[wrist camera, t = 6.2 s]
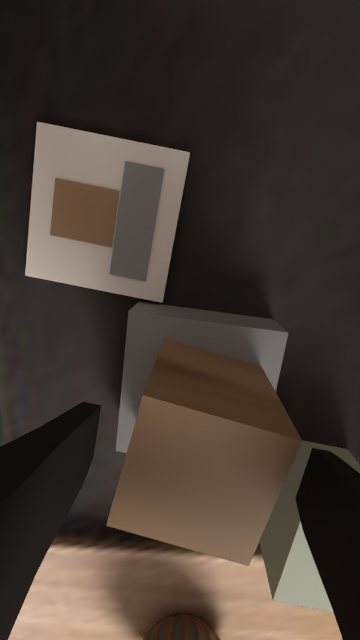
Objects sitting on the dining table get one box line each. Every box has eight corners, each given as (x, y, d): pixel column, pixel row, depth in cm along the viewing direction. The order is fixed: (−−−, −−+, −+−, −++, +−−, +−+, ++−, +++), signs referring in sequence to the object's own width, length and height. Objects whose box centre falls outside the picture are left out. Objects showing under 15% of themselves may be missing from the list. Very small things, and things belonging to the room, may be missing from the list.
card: (162, 301, 16) (162, 303, 16) (29, 274, 16) (24, 275, 15) (190, 154, 14) (189, 151, 14) (41, 125, 14) (35, 120, 14)
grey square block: (248, 434, 18) (258, 471, 15) (128, 418, 18) (115, 450, 15) (271, 317, 16) (288, 332, 13) (139, 300, 16) (128, 311, 14)
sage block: (323, 513, 19) (376, 620, 13) (250, 498, 19) (272, 600, 13) (347, 448, 18) (414, 537, 12) (269, 433, 18) (302, 515, 12)
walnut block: (230, 451, 15) (248, 566, 9) (139, 425, 15) (106, 525, 9) (261, 366, 14) (302, 441, 8) (164, 338, 14) (142, 394, 8)
